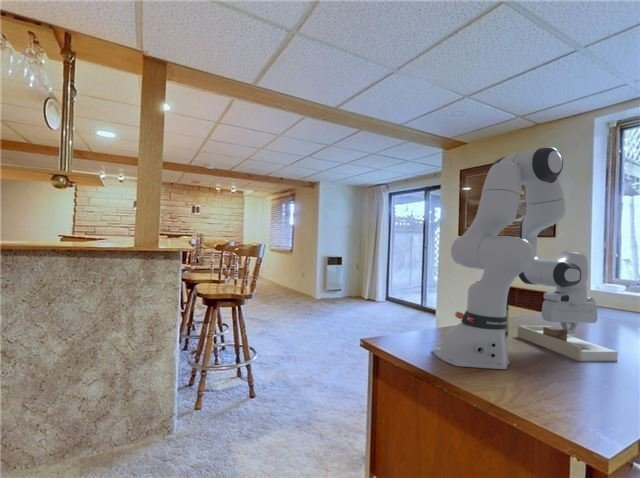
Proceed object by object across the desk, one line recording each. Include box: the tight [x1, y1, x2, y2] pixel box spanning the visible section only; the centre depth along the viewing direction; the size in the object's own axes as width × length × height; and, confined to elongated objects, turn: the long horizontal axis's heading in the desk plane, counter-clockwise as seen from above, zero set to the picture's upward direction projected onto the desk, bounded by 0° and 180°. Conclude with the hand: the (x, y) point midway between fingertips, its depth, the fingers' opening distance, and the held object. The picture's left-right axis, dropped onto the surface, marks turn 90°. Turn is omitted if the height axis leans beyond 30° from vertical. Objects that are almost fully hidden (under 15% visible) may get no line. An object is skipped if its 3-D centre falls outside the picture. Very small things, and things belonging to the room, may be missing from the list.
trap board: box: [517, 325, 619, 362], centre depth 119 cm, size 15×26×4 cm, turn 9°
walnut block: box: [543, 326, 567, 342], centre depth 118 cm, size 5×5×4 cm
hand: (568, 334), depth 118 cm, fingers closed
